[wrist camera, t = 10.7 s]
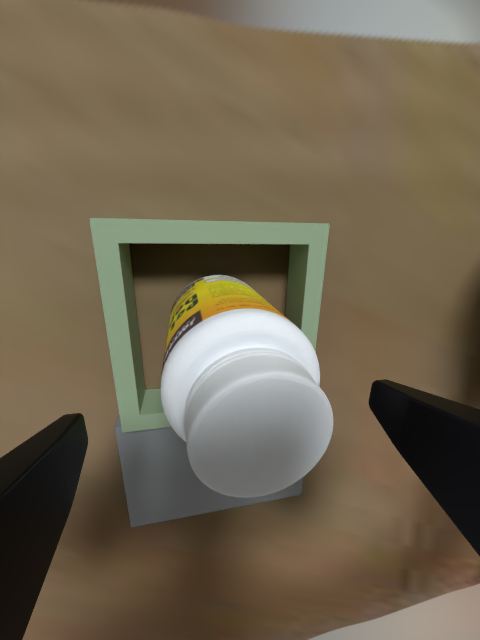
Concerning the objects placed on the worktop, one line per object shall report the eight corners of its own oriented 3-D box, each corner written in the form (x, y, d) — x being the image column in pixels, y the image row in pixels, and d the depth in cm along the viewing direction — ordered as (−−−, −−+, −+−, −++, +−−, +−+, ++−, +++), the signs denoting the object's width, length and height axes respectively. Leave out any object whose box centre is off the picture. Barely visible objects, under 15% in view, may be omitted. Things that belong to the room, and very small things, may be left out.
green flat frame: (315, 225, 16) (338, 223, 13) (291, 472, 22) (304, 500, 19) (94, 219, 13) (76, 217, 11) (135, 499, 19) (129, 535, 17)
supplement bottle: (182, 260, 15) (186, 314, 5) (272, 287, 16) (397, 365, 7) (159, 350, 16) (129, 520, 7) (244, 367, 18) (317, 523, 8)
